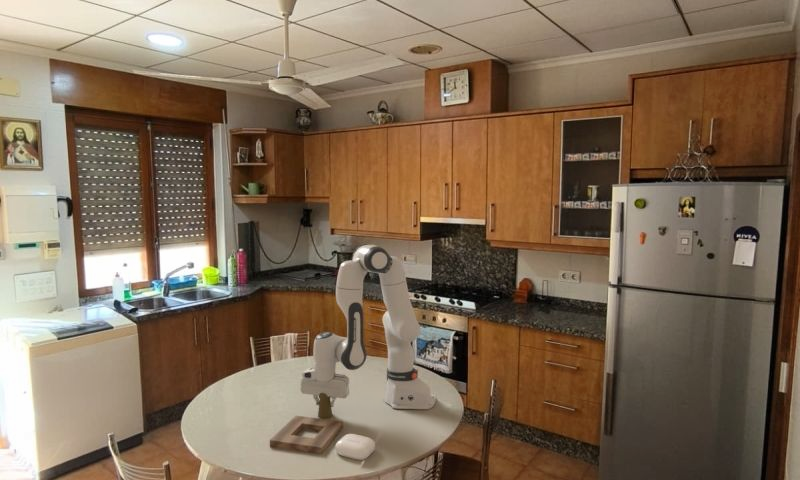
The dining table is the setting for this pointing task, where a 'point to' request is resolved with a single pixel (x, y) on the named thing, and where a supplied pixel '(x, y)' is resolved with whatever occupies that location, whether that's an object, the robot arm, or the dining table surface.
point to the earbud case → (355, 446)
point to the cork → (324, 407)
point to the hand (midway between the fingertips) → (325, 405)
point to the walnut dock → (305, 444)
